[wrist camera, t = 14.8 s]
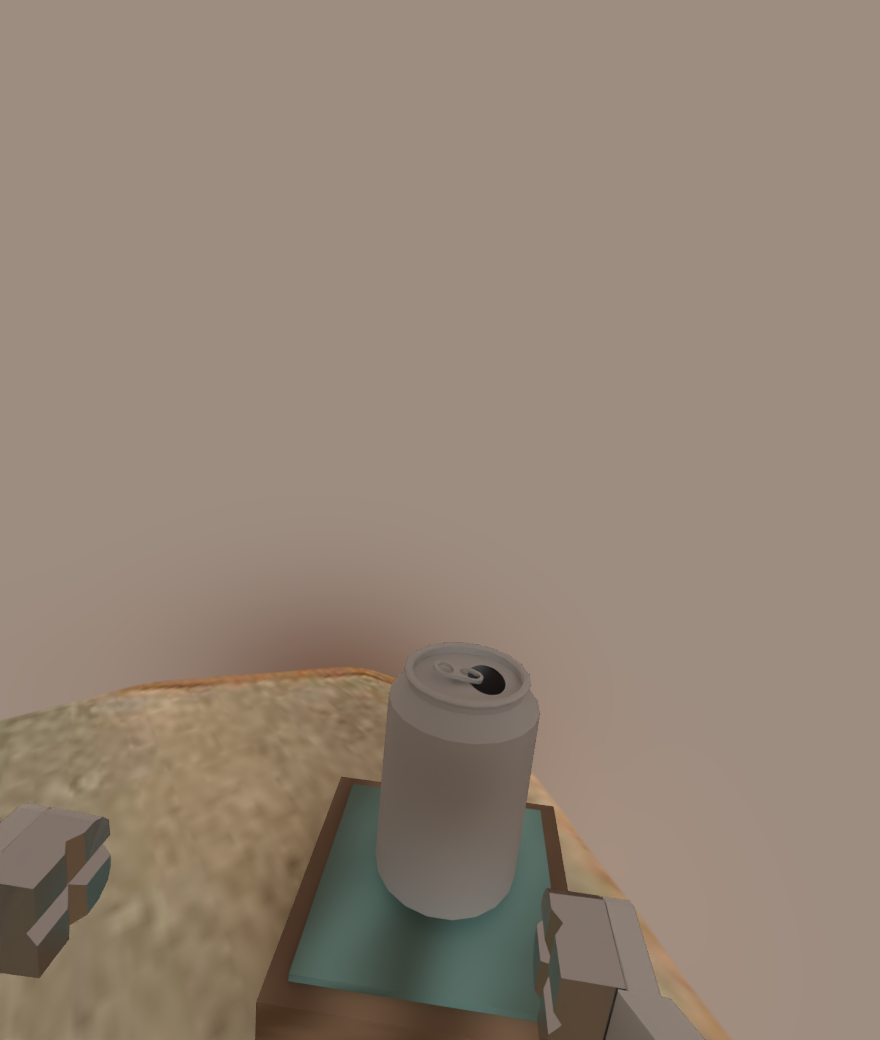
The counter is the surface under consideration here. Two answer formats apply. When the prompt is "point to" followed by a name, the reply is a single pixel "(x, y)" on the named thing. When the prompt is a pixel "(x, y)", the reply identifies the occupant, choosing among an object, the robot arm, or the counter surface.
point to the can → (455, 779)
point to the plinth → (404, 944)
